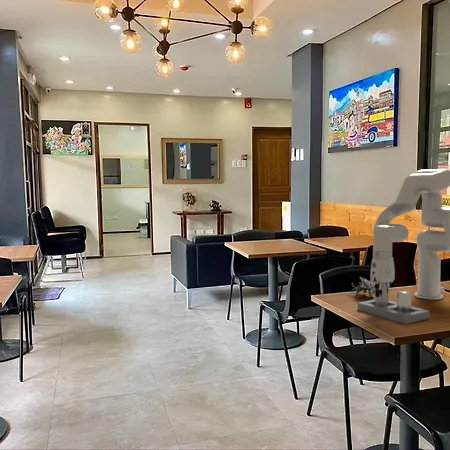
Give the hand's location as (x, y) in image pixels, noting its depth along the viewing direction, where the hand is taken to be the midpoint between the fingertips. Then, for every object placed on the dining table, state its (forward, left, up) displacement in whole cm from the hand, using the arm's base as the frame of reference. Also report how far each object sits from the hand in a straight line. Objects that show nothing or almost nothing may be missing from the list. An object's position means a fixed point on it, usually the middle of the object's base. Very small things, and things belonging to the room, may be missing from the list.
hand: (381, 297), depth 186 cm
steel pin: (0, +11, -6) cm, 12 cm away
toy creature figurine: (-12, -21, -6) cm, 25 cm away
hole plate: (0, +5, -6) cm, 8 cm away
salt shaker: (0, 0, -3) cm, 3 cm away
